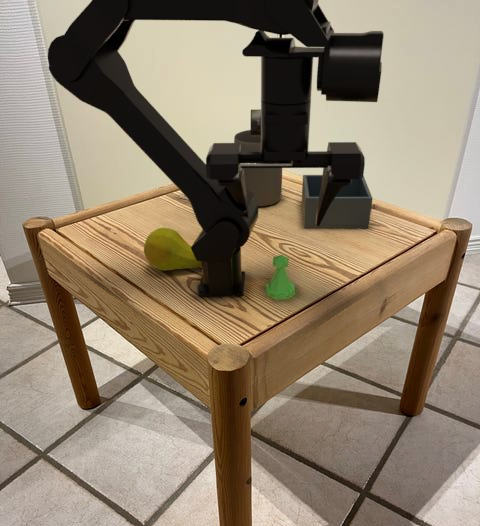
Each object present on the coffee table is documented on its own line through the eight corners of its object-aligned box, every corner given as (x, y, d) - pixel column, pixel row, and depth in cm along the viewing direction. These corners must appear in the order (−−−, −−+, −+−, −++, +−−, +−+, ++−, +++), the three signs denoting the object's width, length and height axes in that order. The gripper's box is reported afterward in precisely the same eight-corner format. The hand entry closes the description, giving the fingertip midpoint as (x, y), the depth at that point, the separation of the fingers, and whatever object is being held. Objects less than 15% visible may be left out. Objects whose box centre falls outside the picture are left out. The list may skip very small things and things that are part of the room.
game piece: (290, 302, 71) (292, 264, 68) (261, 296, 73) (261, 259, 69) (298, 286, 75) (300, 250, 71) (270, 281, 76) (271, 245, 72)
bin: (368, 228, 90) (372, 198, 86) (304, 228, 90) (305, 198, 87) (359, 202, 99) (363, 174, 96) (301, 202, 99) (303, 174, 96)
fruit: (142, 259, 82) (214, 284, 83) (136, 264, 76) (213, 290, 77) (155, 220, 80) (227, 246, 82) (149, 222, 74) (227, 250, 76)
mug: (273, 187, 106) (274, 127, 99) (287, 203, 99) (290, 140, 92) (208, 194, 103) (205, 133, 96) (219, 212, 96) (215, 148, 89)
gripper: (358, 83, 65) (346, 200, 74) (211, 85, 66) (217, 200, 75) (372, 105, 55) (356, 235, 65) (201, 106, 57) (209, 235, 66)
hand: (282, 224), depth 68 cm, fingers open, 9 cm apart
